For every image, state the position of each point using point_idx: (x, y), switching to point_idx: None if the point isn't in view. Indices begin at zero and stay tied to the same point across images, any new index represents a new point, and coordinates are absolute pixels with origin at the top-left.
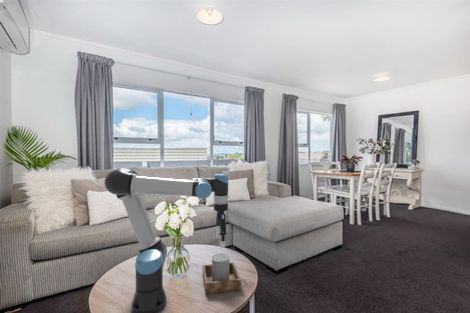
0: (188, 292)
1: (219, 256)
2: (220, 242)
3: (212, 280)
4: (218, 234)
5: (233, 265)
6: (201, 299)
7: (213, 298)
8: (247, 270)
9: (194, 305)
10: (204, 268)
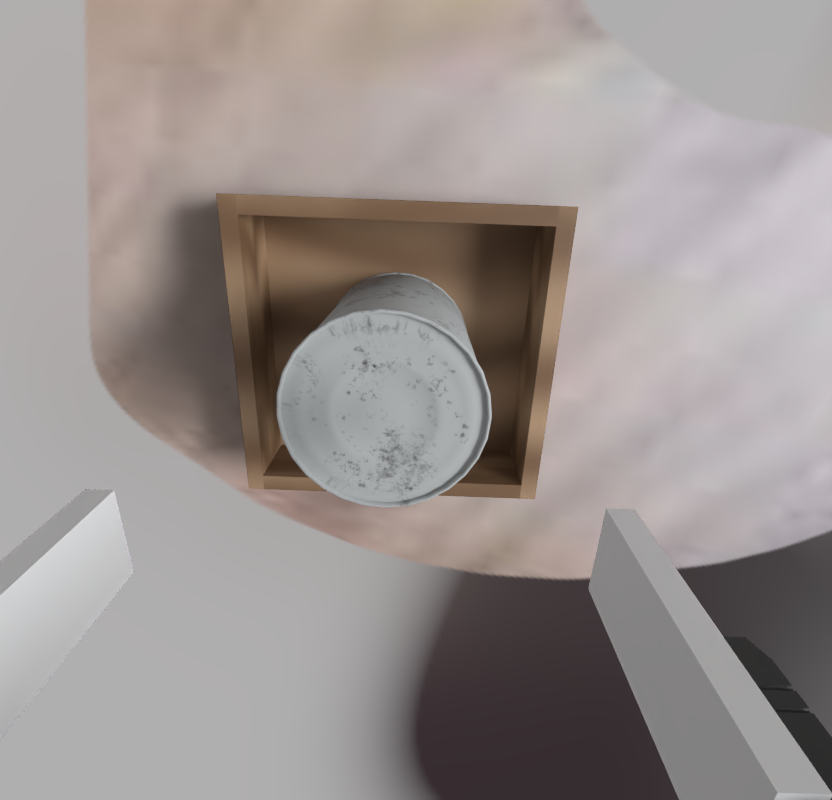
0: (299, 40)
1: (434, 409)
2: (5, 562)
3: (381, 276)
4: (625, 592)
5: (478, 487)
6: (193, 154)
7: (199, 251)
8: (500, 547)
9: (121, 86)
10: (500, 218)
